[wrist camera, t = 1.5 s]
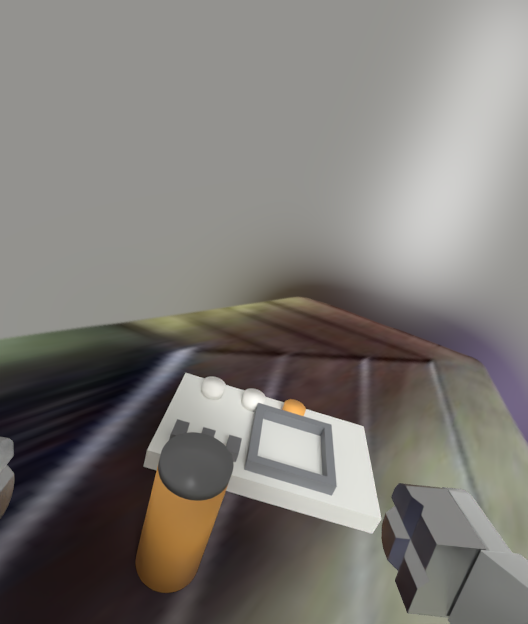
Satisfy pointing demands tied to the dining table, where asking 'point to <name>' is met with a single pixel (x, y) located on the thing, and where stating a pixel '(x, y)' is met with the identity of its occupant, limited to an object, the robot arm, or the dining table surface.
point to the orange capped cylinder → (182, 510)
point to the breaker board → (278, 450)
